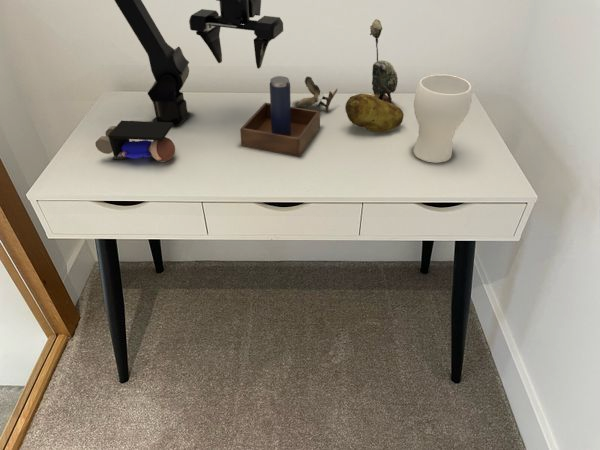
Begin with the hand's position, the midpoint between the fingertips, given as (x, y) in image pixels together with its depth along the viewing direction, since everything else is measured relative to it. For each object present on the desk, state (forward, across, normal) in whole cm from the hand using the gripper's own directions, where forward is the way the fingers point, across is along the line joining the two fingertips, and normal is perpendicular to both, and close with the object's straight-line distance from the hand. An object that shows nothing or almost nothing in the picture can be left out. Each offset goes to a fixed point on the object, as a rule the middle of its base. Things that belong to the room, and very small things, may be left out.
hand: (239, 65), depth 108 cm
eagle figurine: (+13, -13, -12) cm, 22 cm away
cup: (+14, -43, 0) cm, 45 cm away
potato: (+13, -29, -6) cm, 32 cm away
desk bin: (+13, -11, +4) cm, 18 cm away
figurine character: (+13, +13, +22) cm, 29 cm away
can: (+13, -11, +4) cm, 17 cm away
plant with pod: (+13, -28, -17) cm, 35 cm away
